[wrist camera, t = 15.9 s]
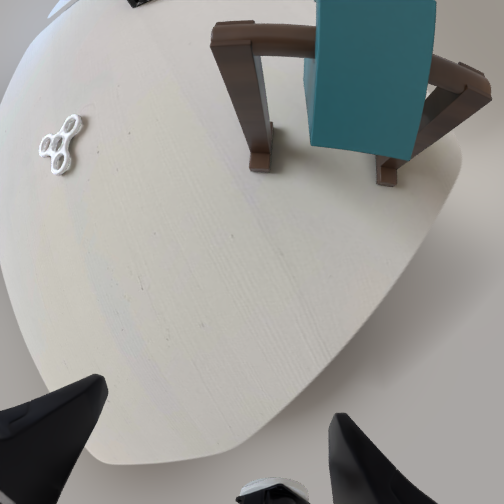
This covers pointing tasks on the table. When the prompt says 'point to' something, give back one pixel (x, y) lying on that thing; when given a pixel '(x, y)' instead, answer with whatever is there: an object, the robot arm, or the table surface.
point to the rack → (303, 46)
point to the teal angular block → (369, 74)
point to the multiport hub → (136, 2)
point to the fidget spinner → (64, 146)
